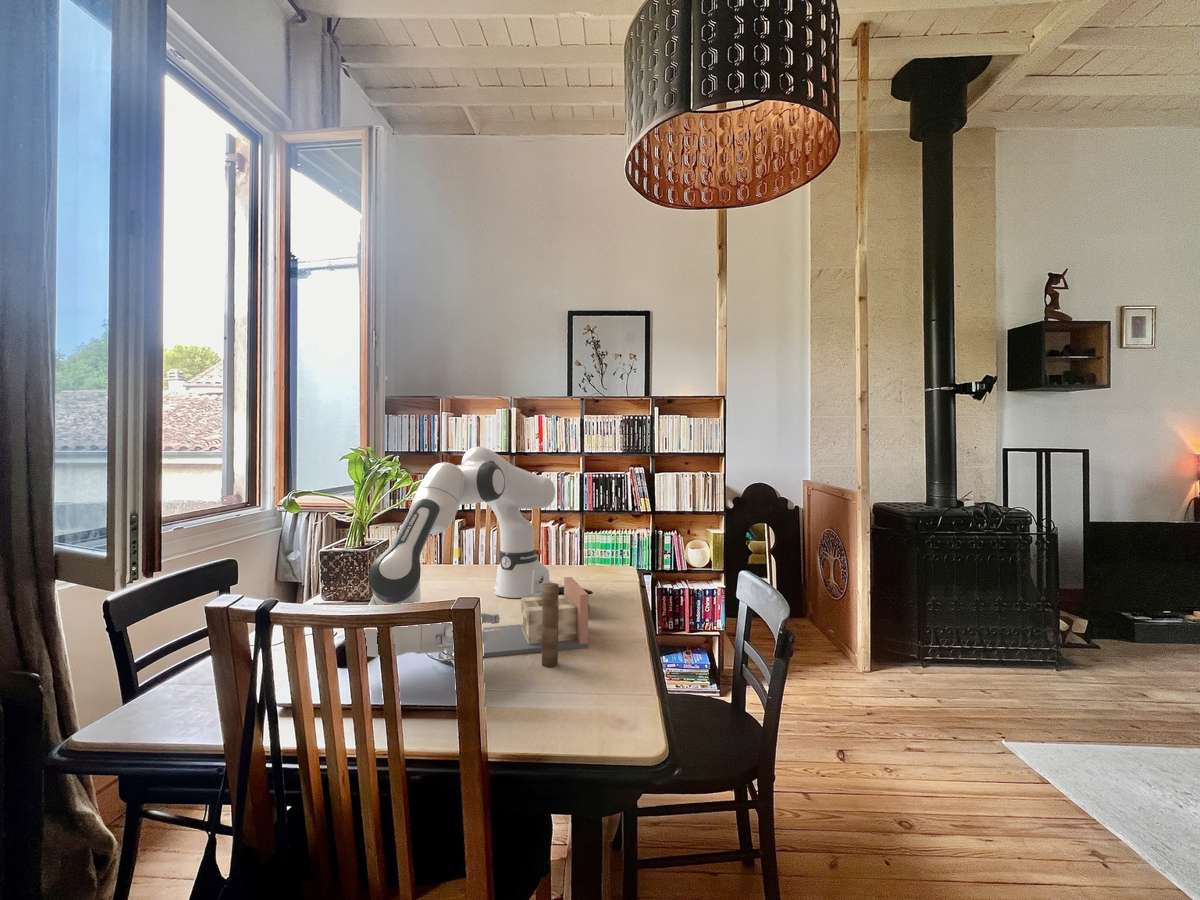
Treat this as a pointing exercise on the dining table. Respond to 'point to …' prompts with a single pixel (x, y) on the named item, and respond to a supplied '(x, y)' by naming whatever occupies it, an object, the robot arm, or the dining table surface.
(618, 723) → the dining table surface
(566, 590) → the backstop
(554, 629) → the dowel
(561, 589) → the figurine character
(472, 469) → the robot arm
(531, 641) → the block
